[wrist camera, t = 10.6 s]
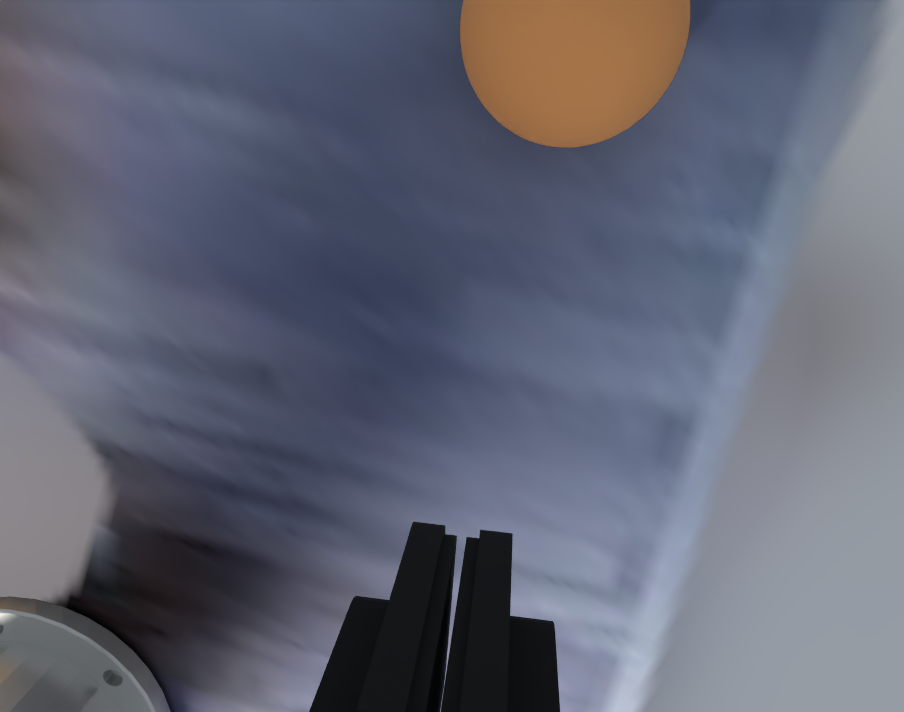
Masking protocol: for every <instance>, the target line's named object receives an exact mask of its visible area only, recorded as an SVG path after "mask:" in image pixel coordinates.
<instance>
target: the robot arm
mask: <svg viewBox="0 0 904 712" xmlns="http://www.w3.org/2000/svg"><path fill="white" fill-rule="evenodd" d="M456 541H457V536H454V535H446V534H445V526H444V525H436V524H428V523H419V522H413V524H412V526H411V530H410V533H409V536H408V540H407V543H406V546H405V550H404V553H403V556H402V560H401V563H400V566H399V570H398V573H397V576H396V580H395V583H394V586H393V590H392V593H391V596H390V600H383V599H376V598H368V597H360V596H355V597H354V598H353V600H352V602H351V604H350V607H349V609H348V612H347V615H346V617H345V620H344V622H343V625H342V628H341V630H340V633H339V635H338V638H337V641H336V643H335V646H334V648H333V651H332V654H331V656H330V659H329V662H328V664H327V667H326V669H325V672H324V675H323V677H322V680H321V682H320V685H319V688H318V690H317V693H316V695H315V698H314V701H313V703H312V706H311V708H310V711H309V712H440V708H441V712H560V704H559V688H558V672H557V657H556V641H555V628H554V623H553V621H546V620H539V619H531V618H523V617H515V616H510V598H511V566H512V534H511V533H503V532H495V531H486V530H480V538H471V537H467V539H466V545H465V552H464V559H463V566H462V572H461V579H460V586H459V592H458V599H457V606H456V612H455V619H454V626H453V633H452V639H451V646H450V653H449V659H448V666H447V673H446V679H445V671H446V660H447V648H448V637H449V625H450V613H451V601H452V589H453V577H454V565H455V553H456ZM444 680H445V686H444ZM443 688H444V693H443ZM442 695H443V700H442ZM441 701H442V707H441ZM0 712H171V711H170V709H169V706H168V704H167V701H166V698H165V696H164V693H163V691H162V689H161V688H160V686H159V684H158V683H157V681H156V679H155V678H154V676H153V675H152V673H151V671H150V670H149V668H148V667H147V666H146V665H145V664H144V663H143V661H142V660H141V659H140V658H139V657H138V656H137V655H136V653H135V652H134V651H133V650H132V649H131V648H130V647H128V646H127V645H126V644H125V643H124V642H123V641H121V640H120V639H119V638H118V637H117V636H115V635H114V634H113V633H112V632H110V631H109V630H107V629H106V628H104V627H102V626H101V625H99V624H98V623H96V622H94V621H93V620H91V619H90V618H88V617H85V616H83V615H81V614H79V613H76V612H74V611H72V610H70V609H67V608H65V607H62V606H59V605H55V604H51V603H47V602H44V601H40V600H36V599H27V598H18V597H0Z"/></svg>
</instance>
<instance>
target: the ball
mask: <svg viewBox="0 0 904 712" xmlns="http://www.w3.org/2000/svg"><path fill="white" fill-rule="evenodd" d="M689 27H690V0H463V4H462V11H461V18H460V43H461V51H462V58H463V62H464V65H465V69H466V73H467V76H468V78H469V80H470V83H471V85H472V88H473V89H474V91H475V93H476V95H477V96H478V98H479V100H480V101H481V103H482V104H483V106H484V107H485V108H486V109H487V111H488V112H489V113H490V114H491V115H492V116H493V117H494V118H495V119H496V120H497V121H498V122H499V123H500V124H501V125H503V126H504V127H505V128H507V129H508V130H510V131H511V132H513V133H514V134H516V135H518V136H519V137H522V138H524V139H526V140H528V141H531V142H534V143H537V144H541V145H545V146H550V147H564V148H573V147H581V146H586V145H591V144H596V143H599V142H602V141H604V140H607V139H609V138H612V137H614V136H616V135H618V134H620V133H621V132H623V131H625V130H627V129H628V128H630V127H631V126H632V125H634V124H635V123H636V122H637V121H639V120H640V119H641V118H642V117H644V116H645V115H646V114H647V113H648V112H649V111H650V110H651V109H652V108H653V107H654V106H655V105H656V103H657V102H658V101H659V99H660V98H661V97H662V95H663V94H664V93H665V91H666V90H667V89H668V87H669V85H670V84H671V82H672V80H673V78H674V76H675V75H676V73H677V70H678V68H679V65H680V63H681V60H682V58H683V55H684V51H685V48H686V44H687V40H688V35H689Z"/></svg>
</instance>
